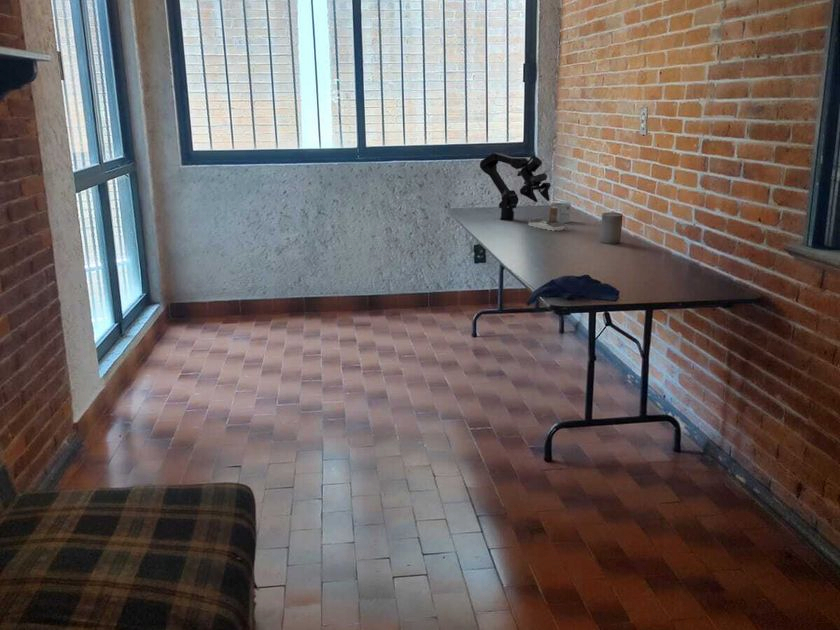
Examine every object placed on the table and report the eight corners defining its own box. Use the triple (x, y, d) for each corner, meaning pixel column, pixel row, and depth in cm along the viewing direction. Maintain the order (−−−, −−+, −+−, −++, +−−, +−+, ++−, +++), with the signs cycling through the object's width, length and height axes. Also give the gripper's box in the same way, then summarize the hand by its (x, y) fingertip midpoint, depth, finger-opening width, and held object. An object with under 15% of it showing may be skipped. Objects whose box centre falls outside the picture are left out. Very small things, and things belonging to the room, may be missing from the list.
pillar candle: (620, 241, 368) (623, 210, 363) (620, 244, 358) (623, 213, 354) (599, 239, 370) (602, 209, 366) (599, 243, 361) (601, 212, 356)
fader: (546, 224, 393) (548, 203, 390) (553, 223, 396) (554, 203, 393) (551, 225, 391) (553, 204, 387) (558, 224, 394) (559, 204, 391)
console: (528, 225, 401) (529, 218, 399) (540, 224, 406) (540, 217, 405) (552, 231, 388) (553, 223, 387) (564, 229, 394) (565, 222, 392)
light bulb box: (568, 220, 420) (570, 201, 417) (569, 222, 414) (571, 203, 410) (549, 219, 421) (550, 200, 418) (549, 221, 415) (551, 202, 411)
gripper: (525, 168, 389) (539, 192, 384) (549, 167, 401) (564, 190, 396) (513, 182, 397) (527, 206, 392) (537, 180, 409) (551, 203, 404)
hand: (542, 201), depth 396 cm, fingers open, 9 cm apart
